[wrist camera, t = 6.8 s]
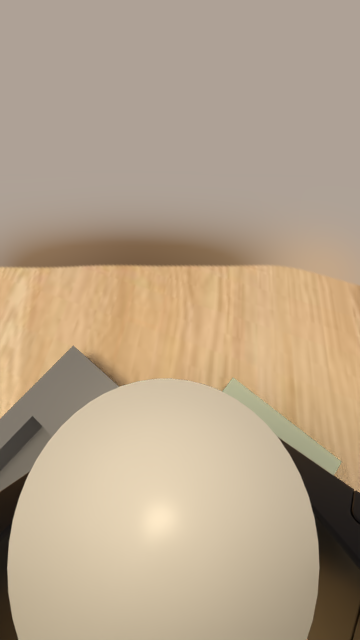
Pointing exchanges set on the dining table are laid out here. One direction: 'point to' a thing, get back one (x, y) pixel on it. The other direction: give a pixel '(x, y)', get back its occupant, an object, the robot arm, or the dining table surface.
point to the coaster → (283, 427)
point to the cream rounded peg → (163, 524)
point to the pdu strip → (47, 411)
